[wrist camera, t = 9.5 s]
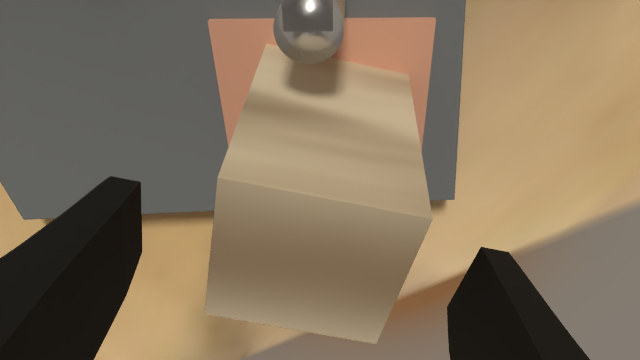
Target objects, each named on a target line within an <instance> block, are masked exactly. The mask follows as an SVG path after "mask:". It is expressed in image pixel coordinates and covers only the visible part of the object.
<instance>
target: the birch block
mask: <svg viewBox="0 0 640 360" xmlns="http://www.w3.org/2000/svg"><path fill="white" fill-rule="evenodd" d="M432 220H433V218H432V212H431V206H430V200H429V194H428V188H427V182H426V176H425V170H424V164H423V158H422V152H421V146H420V140H419V134H418V128H417V122H416V116H415V110H414V104H413V98H412V92H411V86H410V80H409V74H404V73H400V72H395V71H390V70H386V69H381V68H376V67H372V66H367V65H362V64H358V63H353V62H348V61H344V60H339V59H334V58H329V59H327V60H325V61H323V62H320V63H316V64H303V63H299V62H296V61H294V60H292V59H290V58H289V57H287V56H286V55H285V54H284V53H283V52H282V51H281V50H280V48H279V47H278V46H273V45H269V44H266V46H265V48H264V51H263V54H262V57H261V59H260V62H259V65H258V68H257V70H256V73H255V76H254V79H253V81H252V84H251V87H250V90H249V92H248V95H247V98H246V101H245V103H244V106H243V109H242V112H241V114H240V117H239V120H238V123H237V125H236V128H235V131H234V134H233V136H232V139H231V142H230V145H229V147H228V150H227V153H226V156H225V158H224V161H223V164H222V167H221V169H220V172H219V175H218V178H217V189H216V199H215V210H214V220H213V231H212V241H211V251H210V262H209V272H208V283H207V293H206V304H205V314H207V315H213V316H219V317H224V318H230V319H236V320H241V321H247V322H253V323H259V324H264V325H270V326H276V327H282V328H287V329H293V330H299V331H305V332H310V333H316V334H322V335H328V336H334V337H339V338H345V339H350V340H356V341H362V342H368V343H374V344H376V343H377V341H378V339H379V336H380V334H381V332H382V330H383V328H384V325H385V323H386V321H387V319H388V317H389V314H390V312H391V310H392V308H393V306H394V303H395V301H396V299H397V297H398V295H399V292H400V290H401V288H402V286H403V284H404V281H405V279H406V277H407V275H408V273H409V270H410V268H411V266H412V264H413V261H414V259H415V257H416V255H417V253H418V250H419V248H420V246H421V244H422V242H423V239H424V237H425V235H426V233H427V231H428V228H429V226H430V224H431V222H432Z"/></svg>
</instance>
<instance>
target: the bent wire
mask: <svg viewBox="0 0 640 360" xmlns="http://www.w3.org/2000/svg"><path fill="white" fill-rule="evenodd" d="M344 15H345V0H281V3H280V6H279V9H278V11H277V14H276V17H275V20H274V25H273V32H274V37H275V41H276V43H277V45H278V47H279V48H280V50H281V51H282V52H283V53H284V54H285V55H286V56H287V57H289V58H290V59H292V60H294V61H296V62H299V63H303V64H316V63H320V62H323V61H325V60H327V59H329V58H330V57H331V56H332V55H333V54H334V53H335V52H336V51H337V50H338V48H339V47H340V44H341V42H342V38H343V30H344Z"/></svg>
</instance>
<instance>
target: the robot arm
mask: <svg viewBox="0 0 640 360" xmlns="http://www.w3.org/2000/svg"><path fill="white" fill-rule="evenodd" d="M141 253H142V216H141V182H139V181H134V180H129V179H123V178H118V177H113V176H110V177H108V178H107V179H105V180H104V181H103V182H101V183H100V184H99V185H97V186H96V187H95V188H94V189H92V190H91V191H90V192H89V193H87V194H86V195H85V196H84V197H82V198H81V199H80V200H79V201H77V202H76V203H75V204H74V205H72V206H71V207H70V208H69V209H67V210H66V211H65V212H63V213H62V214H61V215H60V216H58V217H57V218H56V219H54V220H53V221H52V222H50V223H49V224H48V225H46V226H45V227H44V228H42V229H41V230H39V231H38V232H37V233H35V234H34V235H33V236H31V237H30V238H29V239H27V240H26V241H25V242H23V243H22V244H20V245H19V246H18V247H16V248H15V249H13V250H12V251H10V252H9V253H7V254H6V255H4V256H3V257H1V258H0V360H94V358H95V356H96V354H97V352H98V350H99V348H100V346H101V344H102V342H103V340H104V338H105V336H106V334H107V333H108V331H109V329H110V327H111V325H112V323H113V321H114V319H115V317H116V315H117V313H118V311H119V309H120V307H121V305H122V303H123V301H124V299H125V297H126V294H127V292H128V289H129V287H130V284H131V281H132V279H133V276H134V273H135V270H136V267H137V265H138V262H139V259H140V256H141ZM447 315H448V337H449V338H448V339H449V353H450V359H451V360H590V359H589V358H588V357H587V355H586V354H585V353H584V352H583V350H582V349H581V348H580V347H579V345H578V344H577V343H576V341H575V340H574V339H573V338H572V337H571V335H570V334H569V333H568V331H567V330H566V329H565V327H564V326H563V325H562V323H561V322H560V321H559V319H558V318H557V317H556V315H555V314H554V313H553V311H552V310H551V309H550V307H549V306H548V305H547V303H546V302H545V301H544V299H543V298H542V296H541V295H540V294H539V292H538V291H537V290H536V288H535V287H534V285H533V284H532V283H531V281H530V280H529V279H528V277H527V276H526V275H525V273H524V272H523V271H522V269H521V268H520V266H519V265H518V264H517V263H516V261H515V260H514V259H513V257H512V256H511V255H510V254H509V252H504V251H499V250H494V249H489V248H484V247H481V248H480V250H479V252H478V253H477V255H476V257H475V259H474V260H473V262H472V264H471V266H470V268H469V269H468V271H467V273H466V275H465V276H464V279H463V280H462V282H461V283H460V285H459V287H458V289H457V291H456V292H455V294H454V296H453V298H452V299H451V302H450V303H449V305H448V307H447Z"/></svg>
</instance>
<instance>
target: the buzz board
mask: <svg viewBox="0 0 640 360" xmlns="http://www.w3.org/2000/svg"><path fill="white" fill-rule="evenodd" d="M280 3H281V0H0V182H1V184H2V185H3V187H4V188H5V190H6V192H7V193H8V195H9V197H10V198H11V200H12V201H13V203H14V205H15V206H16V208H17V210H18V211H19V213H20V214H21V216H22V218H23V219H24V220H28V219H49V218H57V217H58V216H60V215H61V214H62V213H63V212H65V211H66V210H67V209H69V208H70V207H71V206H72V205H74V204H75V203H76V202H77V201H79V200H80V199H81V198H82V197H84V196H85V195H86V194H87V193H89V192H90V191H91V190H92V189H94V188H95V187H96V186H97V185H99V184H100V183H101V182H103V181H104V180H105V179H107V178H108V177H110V176H113V177H118V178H123V179H129V180H134V181H139V182H141V214H156V213H177V212H199V211H214V210H215V199H216V189H217V178H218V175H219V172H220V169H221V167H222V164H223V161H224V158H225V156H226V153H227V150H228V147H229V145H230V142H231V139H232V136H233V134H234V131H235V128H236V125H237V123H238V120H239V117H240V114H241V112H242V109H243V106H244V103H245V101H246V98H247V95H248V92H249V90H250V87H251V84H252V81H253V79H254V76H255V73H256V70H257V68H258V65H259V62H260V59H261V57H262V54H263V51H264V48H265V46H266V44H269V45H273V46H278V45H277V43H276V41H275V37H274V32H273V25H274V20H275V17H276V14H277V11H278V9H279V6H280ZM465 4H466V0H345V15H344V30H343V38H342V42H341V44H340V47H339V48H338V50H337V51H336V52H335V53H334V54H333V55H332V56H331V57H330V58H334V59H339V60H344V61H348V62H353V63H358V64H362V65H367V66H372V67H376V68H381V69H386V70H390V71H395V72H400V73H404V74H409V80H410V86H411V92H412V98H413V104H414V110H415V116H416V122H417V128H418V134H419V140H420V146H421V152H422V158H423V164H424V170H425V176H426V182H427V188H428V194H429V200H430V201H434V200H454V196H455V179H456V161H457V144H458V127H459V109H460V92H461V74H462V57H463V39H464V22H465Z"/></svg>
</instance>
